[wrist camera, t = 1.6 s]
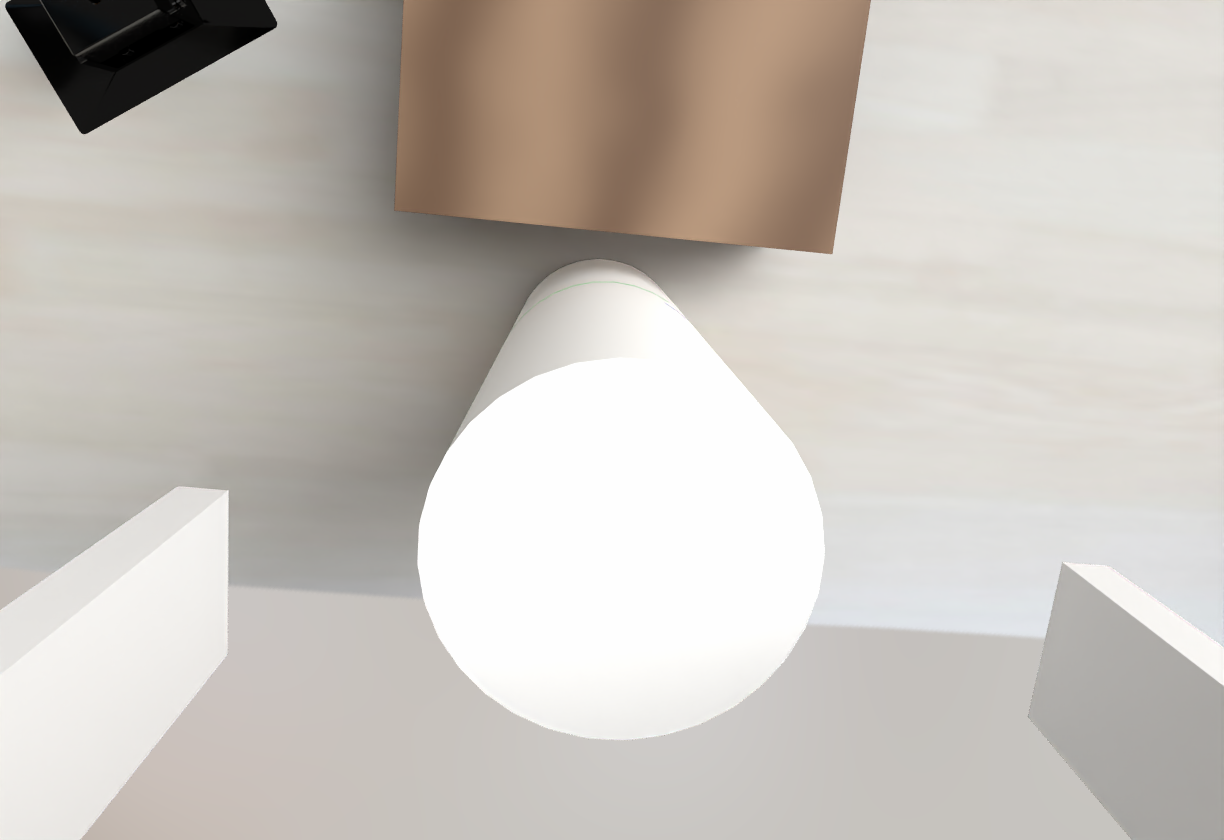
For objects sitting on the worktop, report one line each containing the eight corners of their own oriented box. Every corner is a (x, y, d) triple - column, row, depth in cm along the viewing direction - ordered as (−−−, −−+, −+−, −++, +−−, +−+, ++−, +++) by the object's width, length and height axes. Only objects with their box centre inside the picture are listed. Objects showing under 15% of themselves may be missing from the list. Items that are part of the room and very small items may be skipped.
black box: (236, -145, 36) (188, -192, 32) (332, 35, 38) (299, 13, 33) (-32, 6, 37) (-115, -20, 33) (72, 174, 39) (6, 172, 34)
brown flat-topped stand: (431, 207, 39) (394, 210, 31) (448, -107, 36) (411, -189, 28) (783, 242, 40) (832, 254, 32) (825, -62, 37) (890, -131, 29)
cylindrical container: (600, 453, 42) (625, 810, 17) (482, 343, 40) (331, 566, 16) (713, 339, 41) (908, 551, 16) (595, 223, 39) (618, 267, 15)
